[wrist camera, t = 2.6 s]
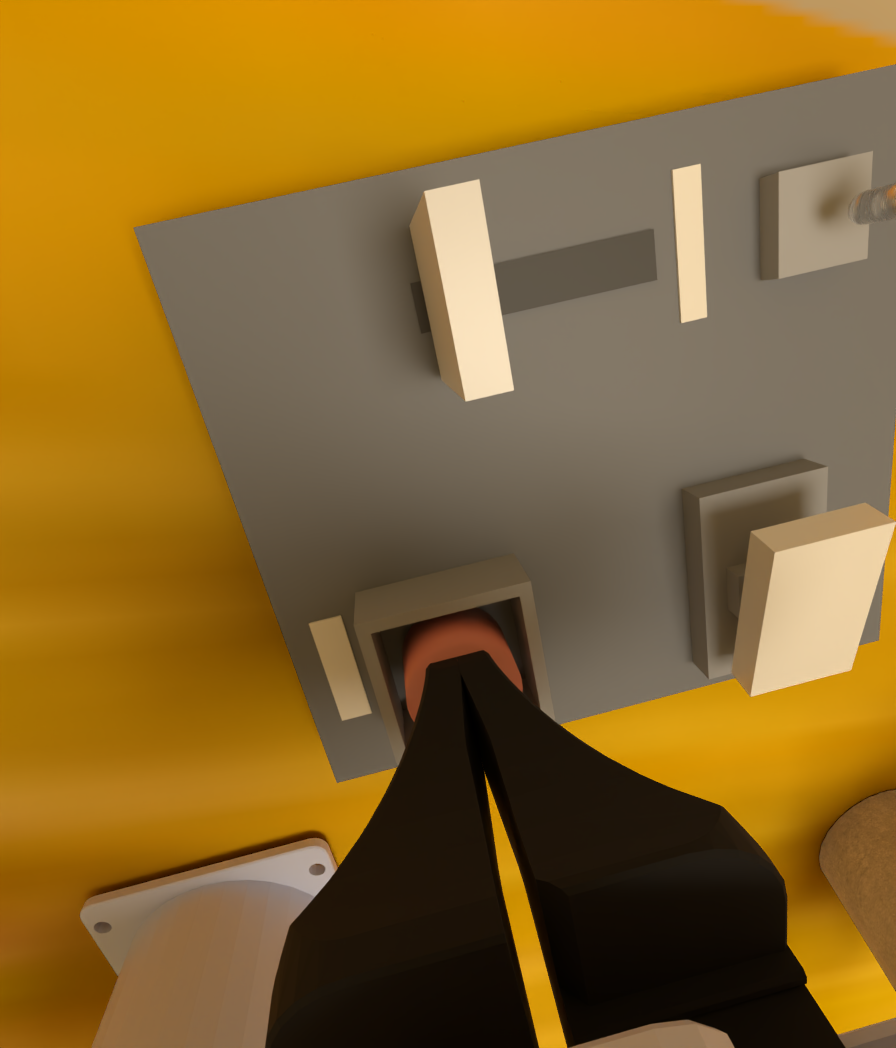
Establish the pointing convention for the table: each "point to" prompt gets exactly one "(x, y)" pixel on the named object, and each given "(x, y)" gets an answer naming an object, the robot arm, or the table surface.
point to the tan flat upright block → (461, 290)
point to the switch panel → (551, 397)
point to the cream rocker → (808, 596)
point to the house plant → (867, 873)
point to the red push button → (452, 648)
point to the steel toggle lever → (873, 205)
